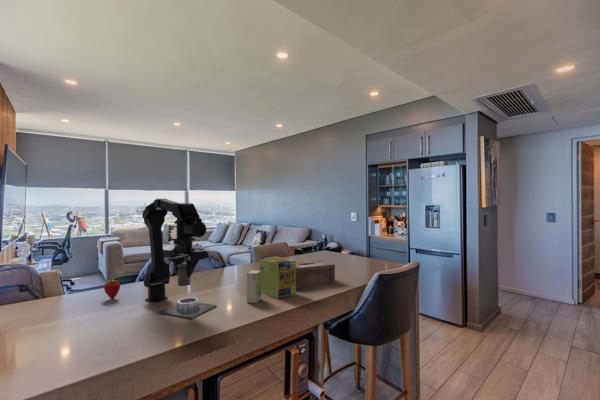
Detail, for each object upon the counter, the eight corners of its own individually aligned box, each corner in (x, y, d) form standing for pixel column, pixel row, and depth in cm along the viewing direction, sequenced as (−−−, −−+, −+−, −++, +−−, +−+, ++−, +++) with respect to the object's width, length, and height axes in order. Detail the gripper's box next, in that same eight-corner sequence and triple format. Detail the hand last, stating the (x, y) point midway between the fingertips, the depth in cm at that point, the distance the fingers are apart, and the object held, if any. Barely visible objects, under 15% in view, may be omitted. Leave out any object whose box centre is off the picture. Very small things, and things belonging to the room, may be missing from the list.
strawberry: (103, 303, 122) (103, 278, 122) (104, 298, 128) (104, 275, 128) (120, 300, 125) (120, 277, 125) (120, 296, 131) (120, 273, 131)
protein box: (278, 299, 126) (278, 263, 127) (258, 291, 138) (258, 258, 138) (296, 294, 133) (296, 260, 134) (276, 287, 145) (276, 255, 145)
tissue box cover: (288, 289, 142) (288, 268, 142) (278, 282, 155) (278, 263, 155) (334, 283, 152) (334, 264, 152) (321, 277, 165) (321, 259, 166)
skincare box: (256, 303, 121) (256, 273, 121) (246, 302, 121) (246, 273, 122) (261, 298, 127) (261, 270, 127) (251, 298, 128) (251, 269, 128)
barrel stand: (157, 313, 110) (157, 303, 110) (185, 301, 123) (185, 293, 123) (191, 319, 104) (191, 308, 104) (216, 306, 117) (216, 297, 117)
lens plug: (173, 285, 111) (173, 264, 111) (184, 282, 116) (184, 261, 116) (184, 286, 109) (184, 265, 109) (194, 283, 114) (194, 262, 114)
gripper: (149, 236, 109) (148, 279, 109) (187, 238, 102) (187, 283, 102) (172, 234, 120) (172, 272, 119) (209, 235, 112) (209, 276, 112)
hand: (184, 276), depth 113 cm, fingers closed on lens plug, 4 cm apart
